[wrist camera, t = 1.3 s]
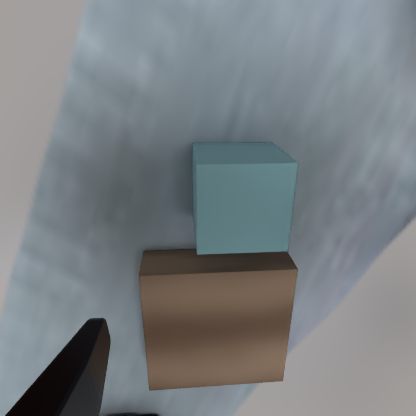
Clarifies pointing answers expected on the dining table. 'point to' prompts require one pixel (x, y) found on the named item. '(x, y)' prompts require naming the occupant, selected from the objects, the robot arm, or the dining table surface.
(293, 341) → the dining table surface
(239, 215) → the block
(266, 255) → the walnut base
